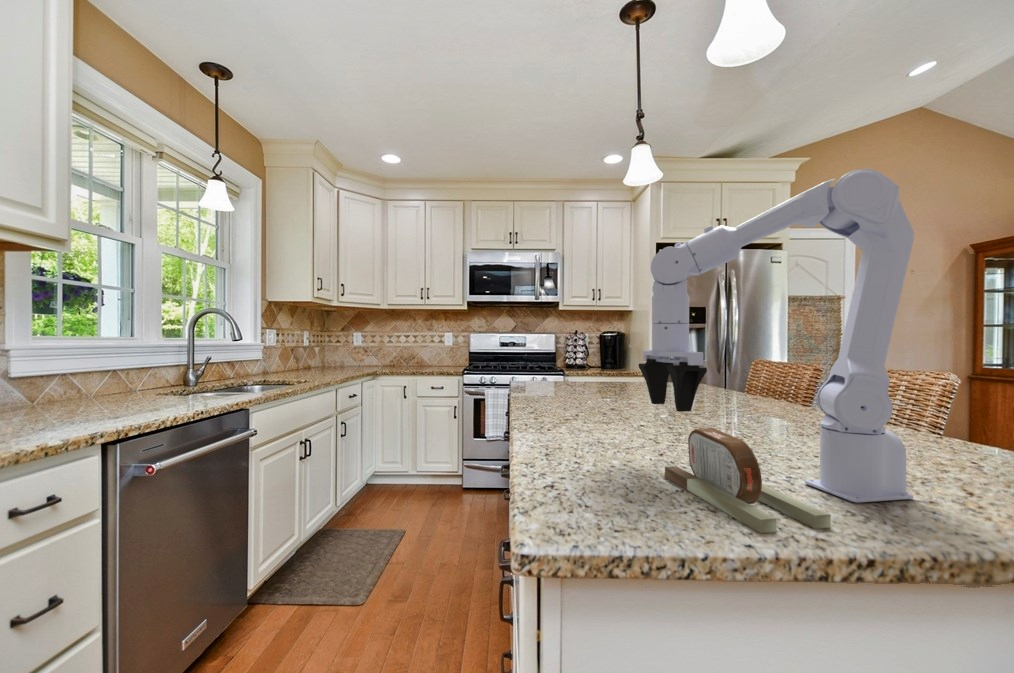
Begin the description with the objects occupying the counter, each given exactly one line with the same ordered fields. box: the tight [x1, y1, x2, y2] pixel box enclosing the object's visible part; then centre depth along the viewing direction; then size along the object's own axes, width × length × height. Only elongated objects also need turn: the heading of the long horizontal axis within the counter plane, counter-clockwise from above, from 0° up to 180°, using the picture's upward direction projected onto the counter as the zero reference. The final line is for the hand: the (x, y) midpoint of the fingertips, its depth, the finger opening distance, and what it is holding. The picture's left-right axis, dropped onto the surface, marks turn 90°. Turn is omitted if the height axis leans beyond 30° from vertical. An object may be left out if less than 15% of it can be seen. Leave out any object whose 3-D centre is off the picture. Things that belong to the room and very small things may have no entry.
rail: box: [664, 465, 832, 534], centre depth 58 cm, size 9×20×2 cm, turn 10°
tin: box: [687, 427, 763, 505], centre depth 60 cm, size 15×3×8 cm, turn 2°
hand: (670, 407), depth 70 cm, fingers open, 7 cm apart
